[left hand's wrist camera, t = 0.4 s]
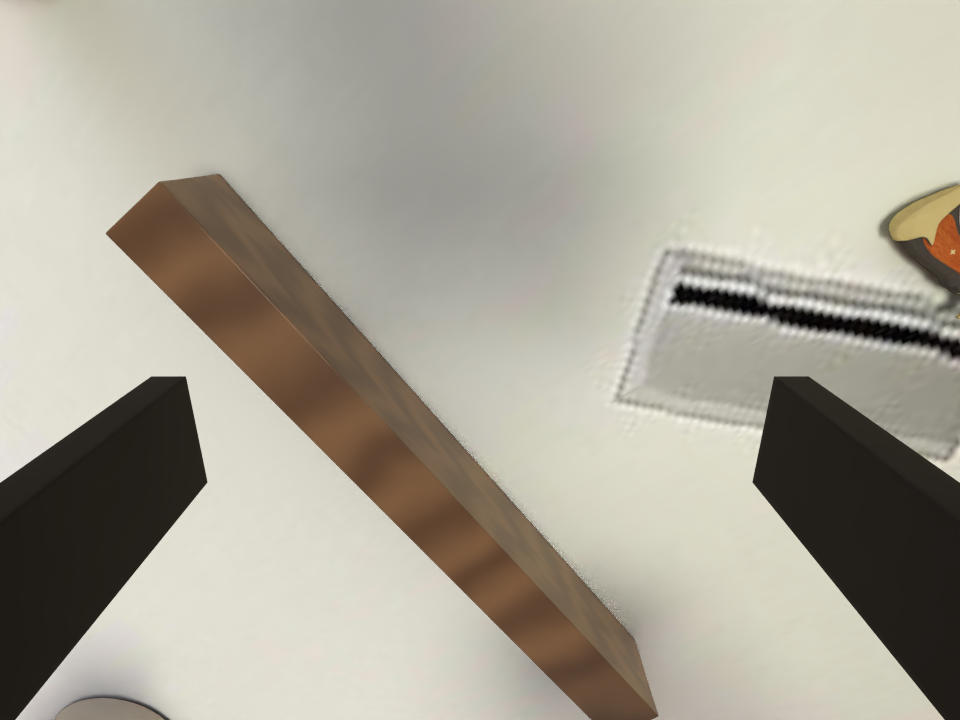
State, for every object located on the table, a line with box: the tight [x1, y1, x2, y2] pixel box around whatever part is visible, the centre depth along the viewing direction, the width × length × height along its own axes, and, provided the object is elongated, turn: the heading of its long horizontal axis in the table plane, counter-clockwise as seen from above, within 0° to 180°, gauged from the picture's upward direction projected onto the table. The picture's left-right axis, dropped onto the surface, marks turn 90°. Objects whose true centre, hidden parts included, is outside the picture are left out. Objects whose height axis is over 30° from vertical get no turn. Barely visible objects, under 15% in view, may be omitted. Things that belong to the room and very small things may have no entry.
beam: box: [106, 174, 658, 720], centre depth 41 cm, size 51×4×7 cm, turn 38°
